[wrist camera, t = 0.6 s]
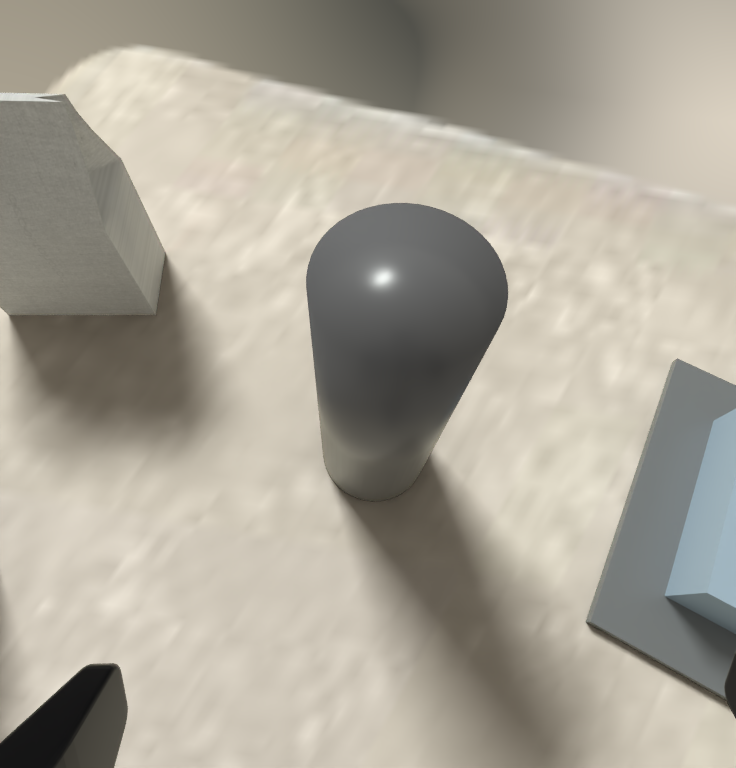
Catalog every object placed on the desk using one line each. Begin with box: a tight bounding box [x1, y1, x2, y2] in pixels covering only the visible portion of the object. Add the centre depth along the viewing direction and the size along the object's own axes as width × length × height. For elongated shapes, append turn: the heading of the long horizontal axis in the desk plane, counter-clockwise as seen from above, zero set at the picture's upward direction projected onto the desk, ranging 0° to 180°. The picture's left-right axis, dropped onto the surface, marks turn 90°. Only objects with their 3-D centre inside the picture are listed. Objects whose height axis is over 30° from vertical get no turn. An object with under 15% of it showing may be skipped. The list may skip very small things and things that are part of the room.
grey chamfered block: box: [0, 93, 165, 315], centre depth 21 cm, size 4×7×10 cm, turn 92°
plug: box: [306, 203, 508, 501], centre depth 17 cm, size 4×4×12 cm
